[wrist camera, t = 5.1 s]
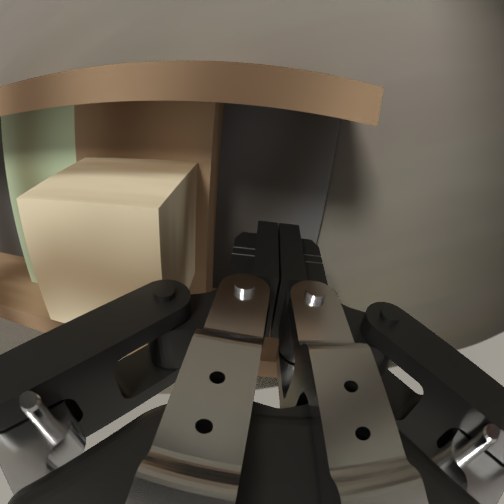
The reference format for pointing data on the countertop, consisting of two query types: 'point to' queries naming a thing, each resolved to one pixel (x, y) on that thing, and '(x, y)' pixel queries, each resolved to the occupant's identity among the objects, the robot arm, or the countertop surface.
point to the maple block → (109, 230)
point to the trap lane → (179, 152)
